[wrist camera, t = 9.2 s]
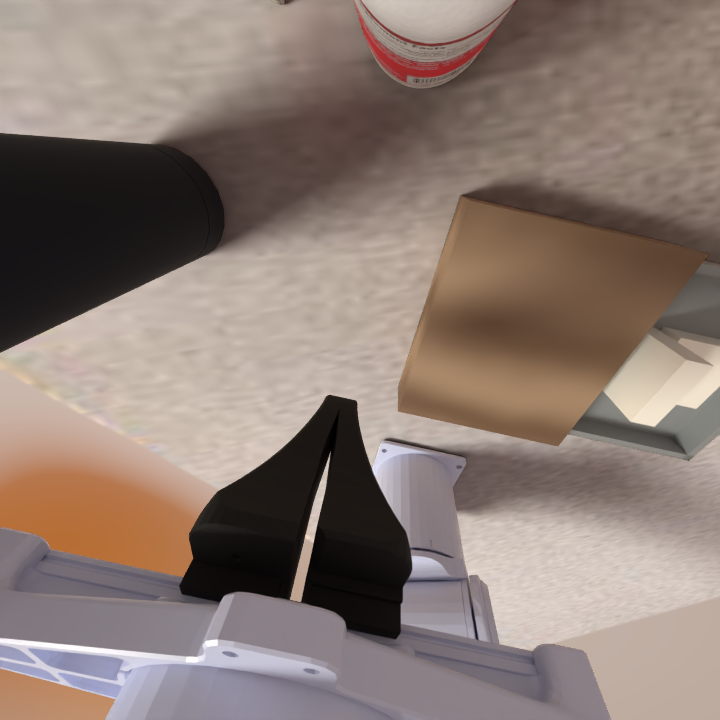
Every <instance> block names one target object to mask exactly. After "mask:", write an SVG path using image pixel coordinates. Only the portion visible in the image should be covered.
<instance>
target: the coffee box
mask: <svg viewBox="0 0 720 720" xmlns="http://www.w3.org/2000/svg"><path fill="white" fill-rule="evenodd" d="M272 1H273V2H275V3H276V4H277V5H282V4H284V1H285V0H272Z"/></svg>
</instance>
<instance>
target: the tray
mask: <svg viewBox="0 0 720 720" xmlns="http://www.w3.org/2000/svg"><path fill="white" fill-rule="evenodd" d="M653 327H654V328H656V329H658V330H659V331H660V330H661V329H662V328H663V327H666V328H671V329H675V330H680V331H684V332H689V333H693V334H698V335H702V336H707V337H712V338H716V339H720V264H718V263H714V262H709V261H704V262H703V263H702V264H701V266H700V267H699V268H698V269H697V271H696V272H695V273H694V275H693V276H692V277H691V278H690V280H689V281H688V282H687V283H686V285H685V286H684V287H683V288H682V290H681V291H680V292H679V294H678V295H677V296H676V297H675V299H674V300H673V301H672V302H671V304H670V305H669V306H668V307H667V309H666V310H665V311H664V313H663V314H662V315H661V316H660V318H659V319H658V320H657V321H656V323H655V324H654V325H653ZM568 434H569V435H574V436H578V437H583V438H587V439H592V440H596V441H601V442H606V443H610V444H615V445H619V446H624V447H628V448H633V449H638V450H642V451H647V452H651V453H656V454H661V455H665V456H670V457H674V458H679V459H683V460H688V461H689V460H690V459H691V458H692V457H694V456H695V455H696V454H697V453H698V452H699V451H701V450H702V449H703V448H704V447H705V446H706V445H708V444H709V443H710V442H711V441H712V440H713V439H715V438H716V437H717V436H718V435H719V434H720V387H719V388H718V389H717V390H715V391H714V392H713V393H712V394H711V395H710V396H709V397H708V398H707V399H706V400H705V401H704V402H703V403H702V404H701V405H700V406H699V407H698V408H697V409H694V408H689V407H685V406H680V405H676V406H675V407H674V408H673V409H672V410H671V411H670V412H669V413H668V414H667V415H666V416H665V417H664V418H663V419H662V420H661V421H660V422H659V423H658V424H657V425H656V426H655V427H653V426H648V425H644V424H639V423H634V422H630V421H629V420H628V418H627V417H626V416H625V415H624V414H623V413H622V412H621V411H620V409H619V408H618V407H617V406H616V405H615V404H614V403H613V402H612V400H611V399H610V398H609V397H608V396H607V395H606V394H605V393H604V391H603V390H602V391H601V392H600V394H599V395H598V396H597V397H596V399H595V400H594V401H593V403H592V404H591V405H590V406H589V408H588V409H587V410H586V411H585V413H584V414H583V415H582V417H581V418H580V419H579V420H578V422H577V423H576V424H575V425H574V427H573V428H572V429H571V430H570V432H569V433H568Z"/></svg>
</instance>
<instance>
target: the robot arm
mask: <svg viewBox="0 0 720 720" xmlns="http://www.w3.org/2000/svg"><path fill="white" fill-rule="evenodd" d="M385 449H386V450H385ZM330 452H331V454H330ZM329 455H330V462H329V469H328V477H327V484H326V491H325V495H324V499H323V504H322V508H321V512H320V516H319V521H318V525H317V530H316V534H315V539H314V544H313V549H312V554H311V559H310V563H309V567H308V572H307V576H306V581H305V586H304V591H303V596H302V601H301V602H297V601H292V600H290V597H291V592H292V588H293V584H294V580H295V576H296V572H297V567H298V563H299V559H300V555H301V551H302V547H303V543H304V539H305V535H306V530H307V526H308V522H309V518H310V514H311V510H312V506H313V502H314V499H315V496H316V492H317V490H318V487H319V484H320V481H321V478H322V475H323V472H324V469H325V466H326V463H327V460H328V458H329ZM465 465H466V459H465V458H464V457H460V456H456V455H451V454H447V453H442V452H437V451H433V450H428V449H424V448H419V447H414V446H410V445H405V444H400V443H396V442H391V441H386V440H385V441H382V442H381V443H380V446H379V449H378V452H377V455H376V458H375V462H374V465H373V468H371V465H370V463H369V460H368V457H367V454H366V451H365V447H364V444H363V440H362V436H361V431H360V427H359V420H358V412H357V402H356V401H355V400H351V399H346V398H342V397H337V396H333V395H328V396H326V398H325V400H324V402H323V403H322V405H321V406H320V408H319V409H318V410H317V412H316V413H315V414H314V416H313V417H312V418H311V419H310V420H309V422H308V423H307V424H306V425H305V426H304V427H303V428H302V429H301V431H300V432H299V433H298V434H297V435H296V436H295V437H294V438H293V439H292V440H291V441H290V442H289V443H287V444H286V445H285V446H284V447H283V448H282V449H281V450H280V451H278V452H277V453H276V454H275V455H273V456H272V457H271V458H270V459H268V460H267V461H266V462H264V463H263V464H262V465H260V466H259V467H257V468H256V469H254V470H253V471H251V472H250V473H248V474H247V475H245V476H244V477H242V478H241V479H239V480H237V481H235V482H234V483H232V484H230V485H228V486H227V487H225V488H223V489H221V490H219V491H218V492H217V493H216V494H215V495H214V496H213V498H212V499H211V500H210V502H209V503H208V504H207V505H206V507H205V508H204V509H203V511H202V512H201V514H200V515H199V517H198V519H197V521H196V522H195V524H194V526H193V528H192V530H191V532H190V533H189V541H190V545H191V550H192V554H193V560H192V562H191V564H190V566H189V568H188V570H187V572H186V573H185V575H184V577H179V576H174V575H170V574H165V573H160V572H155V571H151V570H146V569H141V568H137V567H132V566H127V565H122V564H117V563H113V562H108V561H104V560H99V559H94V558H89V557H85V556H80V555H75V554H70V553H66V552H61V551H56V550H52V549H50V547H49V544H48V543H47V541H46V540H45V539H44V538H42V537H40V536H38V535H35V534H32V533H27V532H22V531H18V530H13V529H8V528H0V668H1V669H5V670H9V671H13V672H17V673H21V674H25V675H28V676H32V677H36V678H40V679H43V680H47V681H51V682H55V683H59V684H62V685H66V686H70V687H73V688H77V689H81V690H84V691H88V692H92V693H95V694H100V695H103V696H106V697H111V698H114V699H116V700H115V702H114V704H113V706H112V707H111V709H110V711H109V713H108V715H107V717H106V719H105V720H611V718H610V715H609V713H608V710H607V707H606V705H605V702H604V700H603V697H602V694H601V692H600V689H599V686H598V684H597V681H596V679H595V676H594V673H593V670H592V668H591V665H590V662H589V660H588V657H587V655H586V653H585V652H584V651H582V650H578V649H573V648H569V647H564V646H559V645H555V644H542V645H539V646H537V647H536V648H535V649H534V650H533V651H528V650H524V649H519V648H514V647H509V646H505V645H500V644H499V640H498V635H497V630H496V625H495V620H494V615H493V611H492V606H491V601H490V596H489V591H488V587H487V585H486V584H485V583H484V582H483V581H482V580H480V578H479V576H478V575H470V576H469V578H470V581H469V578H468V574H467V570H466V566H465V561H464V555H463V549H462V543H461V536H460V530H459V524H458V518H457V512H456V505H455V499H454V493H453V486H454V484H455V483H456V481H457V479H458V478H459V476H460V474H461V472H462V471H463V469H464V467H465Z"/></svg>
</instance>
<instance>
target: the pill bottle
mask: <svg viewBox="0 0 720 720" xmlns="http://www.w3.org/2000/svg"><path fill="white" fill-rule="evenodd" d="M516 2H517V0H354V3H355V6H356V10H357V13H358V16H359V20H360V23H361V26H362V29H363V32H364V36H365V38H366V41H367V44H368V46H369V48H370V51H371V53H372V54H373V56H374V58H375V60H376V61H377V63H378V64H379V66H380V67H381V68H382V69H383V70H384V71H385V73H386V74H388V75H389V76H390V77H391V78H392V79H394V80H395V81H397V82H399V83H400V84H403V85H405V86H408V87H412V88H431V87H436V86H439V85H441V84H444V83H446V82H448V81H450V80H451V79H453V78H455V77H456V76H458V75H459V74H460V73H462V72H463V71H464V70H465V69H466V68H467V67H468V66H469V65H470V64H471V63H472V62H473V61H474V60H475V59H476V57H477V56H478V55H479V53H480V52H481V51H482V49H483V48H484V46H485V45H486V44H487V42H488V41H489V39H490V38H491V36H492V35H493V34H494V32H495V31H496V29H497V28H498V26H499V25H500V24H501V22H502V21H503V19H504V18H505V17H506V15H507V14H508V12H509V11H510V9H511V8H512V7H513V6H514V5H515V3H516Z"/></svg>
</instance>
